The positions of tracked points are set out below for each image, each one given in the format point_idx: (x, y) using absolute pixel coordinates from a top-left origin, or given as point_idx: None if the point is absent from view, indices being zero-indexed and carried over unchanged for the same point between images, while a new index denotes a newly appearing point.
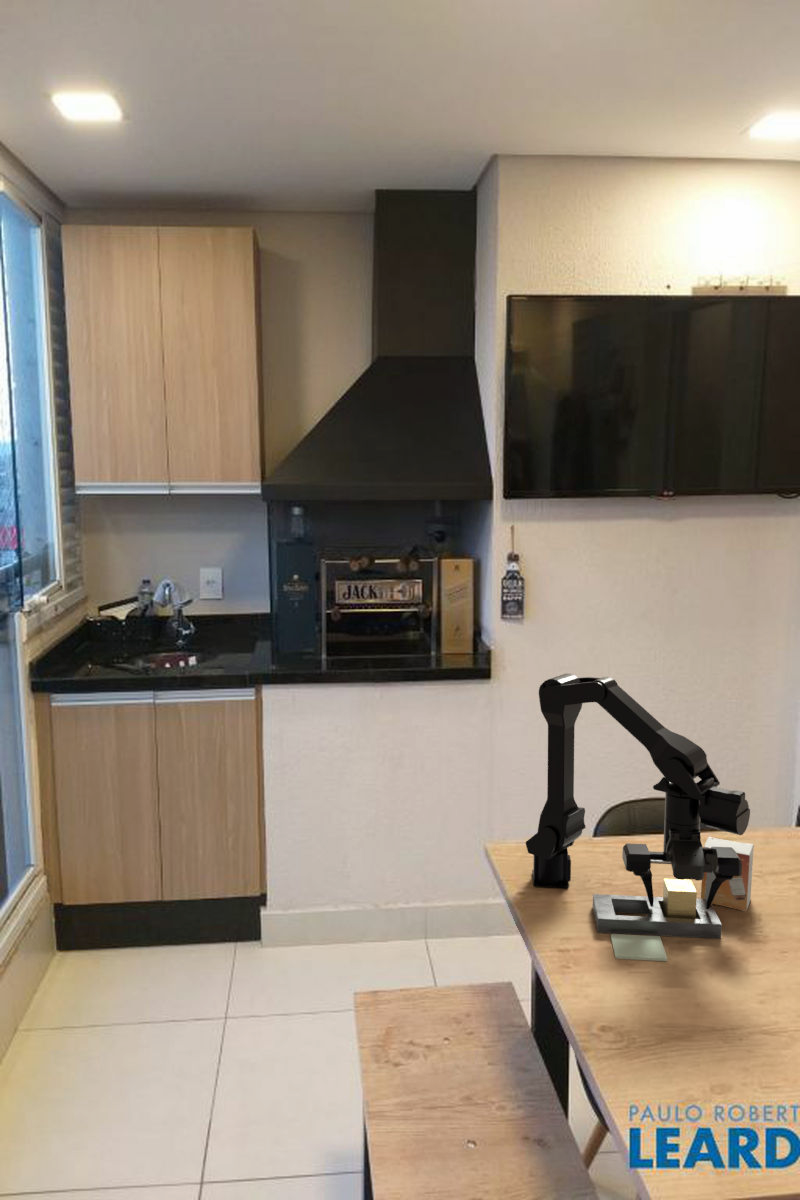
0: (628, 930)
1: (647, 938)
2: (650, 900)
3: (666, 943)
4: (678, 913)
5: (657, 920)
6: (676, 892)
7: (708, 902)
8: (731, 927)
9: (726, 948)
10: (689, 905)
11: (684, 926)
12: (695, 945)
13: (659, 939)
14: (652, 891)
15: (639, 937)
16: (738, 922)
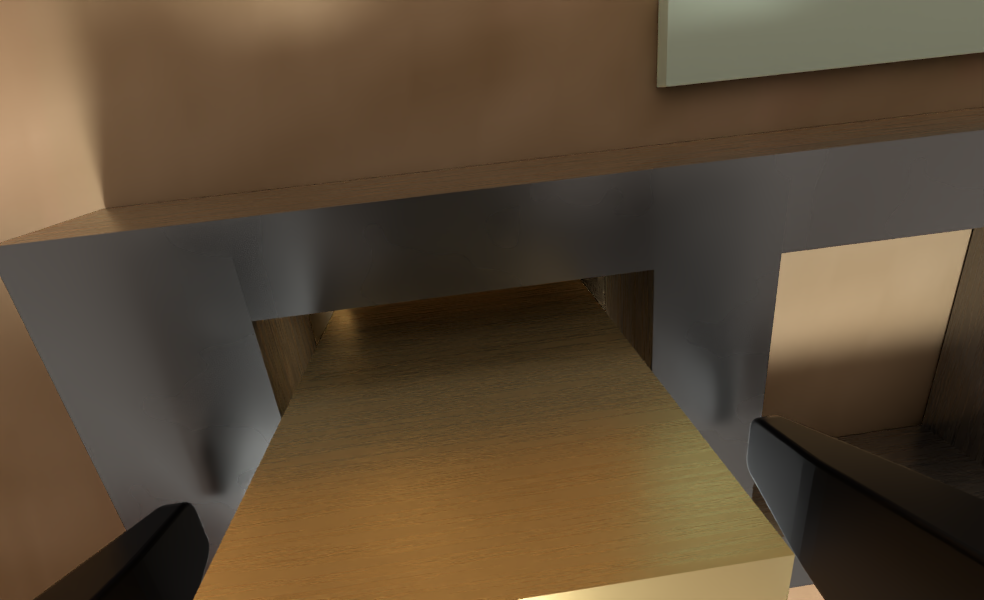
0: (939, 117)
1: (791, 19)
2: (840, 447)
3: (610, 5)
4: (500, 348)
5: (742, 180)
6: (611, 554)
7: (116, 564)
8: (49, 422)
9: (18, 17)
10: (366, 428)
11: (438, 187)
12: (335, 20)
13: (682, 18)
14: (953, 537)
15: (862, 22)
16: (10, 505)
